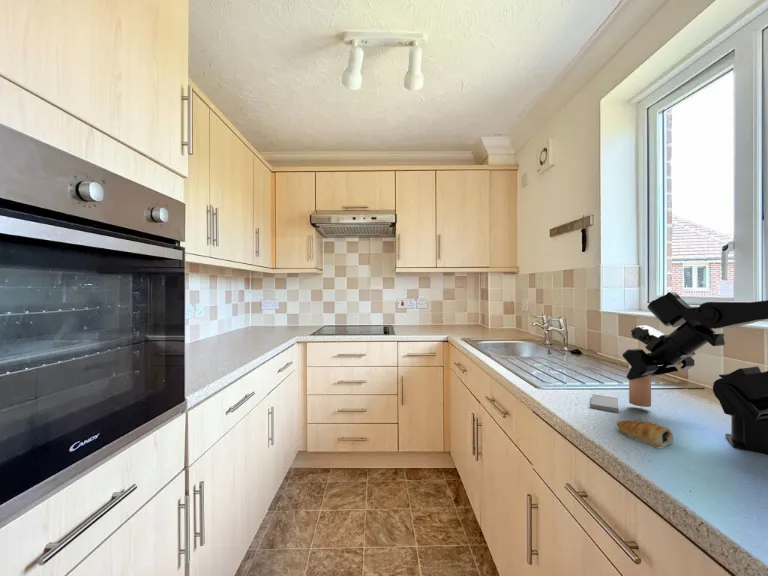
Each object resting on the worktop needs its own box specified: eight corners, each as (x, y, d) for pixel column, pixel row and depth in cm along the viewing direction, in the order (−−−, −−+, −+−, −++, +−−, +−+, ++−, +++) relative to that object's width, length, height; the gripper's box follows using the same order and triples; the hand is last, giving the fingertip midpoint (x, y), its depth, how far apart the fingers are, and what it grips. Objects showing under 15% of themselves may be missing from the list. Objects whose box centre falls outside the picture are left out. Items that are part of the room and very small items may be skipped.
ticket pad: (618, 412, 86) (618, 407, 86) (590, 407, 90) (590, 403, 90) (617, 401, 95) (617, 397, 95) (592, 397, 98) (592, 393, 98)
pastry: (610, 432, 75) (610, 415, 75) (627, 427, 78) (627, 410, 78) (660, 451, 67) (660, 431, 67) (677, 444, 70) (677, 425, 70)
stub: (652, 408, 85) (652, 360, 85) (629, 404, 88) (629, 358, 88) (650, 402, 89) (650, 357, 89) (628, 399, 92) (628, 355, 92)
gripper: (680, 314, 88) (636, 350, 99) (630, 317, 82) (588, 354, 92) (718, 350, 81) (666, 384, 91) (667, 355, 74) (617, 391, 85)
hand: (634, 377), depth 90 cm, fingers closed on stub, 4 cm apart
